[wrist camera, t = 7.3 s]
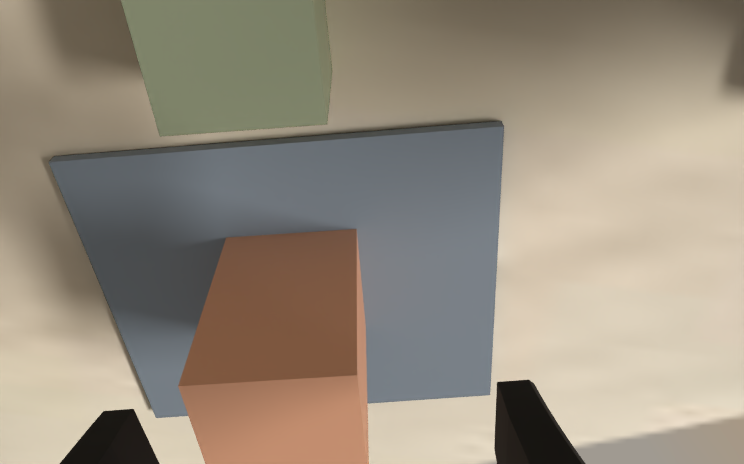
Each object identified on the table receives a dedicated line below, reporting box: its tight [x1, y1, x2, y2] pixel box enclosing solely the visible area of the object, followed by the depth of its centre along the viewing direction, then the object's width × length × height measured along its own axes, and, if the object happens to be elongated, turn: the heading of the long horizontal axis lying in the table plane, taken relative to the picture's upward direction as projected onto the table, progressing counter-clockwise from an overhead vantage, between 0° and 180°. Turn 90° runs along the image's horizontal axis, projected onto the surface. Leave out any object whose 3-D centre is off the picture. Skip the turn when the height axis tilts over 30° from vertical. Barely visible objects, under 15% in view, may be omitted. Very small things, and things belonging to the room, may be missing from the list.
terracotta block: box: [178, 229, 369, 464], centre depth 18 cm, size 4×4×6 cm
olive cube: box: [121, 0, 332, 136], centre depth 15 cm, size 4×4×4 cm
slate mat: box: [49, 121, 504, 418], centre depth 22 cm, size 14×12×1 cm
